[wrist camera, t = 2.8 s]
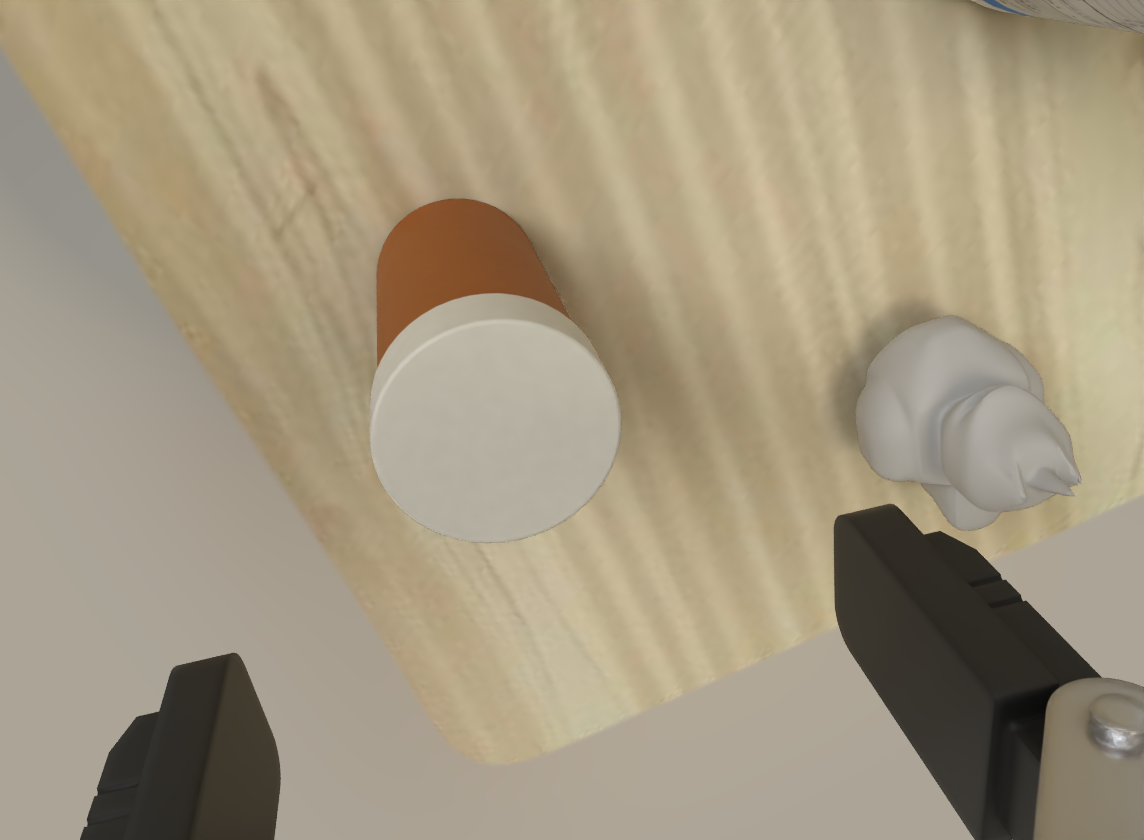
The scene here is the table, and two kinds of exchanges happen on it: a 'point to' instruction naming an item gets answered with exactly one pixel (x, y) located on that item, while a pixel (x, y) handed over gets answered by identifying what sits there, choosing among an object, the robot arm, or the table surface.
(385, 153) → the table surface
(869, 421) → the grey figurine
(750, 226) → the table surface
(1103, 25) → the supplement tub
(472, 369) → the pill bottle
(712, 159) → the table surface
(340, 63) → the table surface
